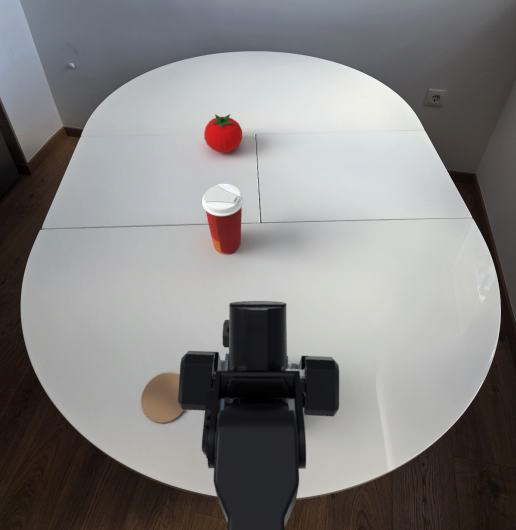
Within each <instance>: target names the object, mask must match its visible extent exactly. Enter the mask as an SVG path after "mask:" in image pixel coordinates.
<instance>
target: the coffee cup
mask: <svg viewBox="0 0 516 530" xmlns="http://www.w3.org/2000/svg"><path fill="white" fill-rule="evenodd" d="M201 202H202V207H203V209H204V210H205V215H206V220H207V223H208V228H209V233H210V236H211V237H210V238H211V242H212V245H213V248H214V250H215V251H216V252H217V253H219V254H221V255H232V254H234V253H235V252H237V251H238V250H239V249H240V247H241V242H242V241H241V239H242V217H243V215H242V214H243V213H242V207H243V205H244V196H243V194H242V193H241V191H240V190H239V189H238V188H237V187H236V186H235V185H233V184H229V183H219V184H215V185H213V186H211V187H209V188H208V189H207V190H206V191H205V193H204V195H203V196H202V199H201Z"/></svg>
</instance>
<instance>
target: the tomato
mask: <svg viewBox="0 0 516 530" xmlns="http://www.w3.org/2000/svg"><path fill="white" fill-rule="evenodd" d="M214 116H215V117H214V118H211V120H209V121H208V123H207V124H206V126H205V128H204V131H203V133H204V134H203V137H204V140H205V143H206V145H207V146H208V147H209V148H210V149H211V150H212V151H215V152H217V153H223V154H224V153H230V152H232V151H234V150H235V149H237V148H238V147H239V146H240V145H241V142H242V140H243V129H242V127H241V125H240V123H239V122H238V121H236V120H235V119H234V118H232V117H230V116H231V114H227V115H225V116H220V115H218V114H214Z"/></svg>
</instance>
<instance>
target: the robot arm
mask: <svg viewBox="0 0 516 530" xmlns="http://www.w3.org/2000/svg"><path fill="white" fill-rule="evenodd" d="M228 309H229V310H228V319H225V320H224V321H223V323H222V346H223V347H224V348H228V354H229V369H230V370H231V371H227V369H228V360H225V359H222V360H221V356H220V352H219V351H209V350H208V351H205V350H204V351H203V350H188V351H187V352H185V354H183V356H181V359H180V363H179V375H180V377H179V392H178V403H179V405H180V406H181V408H182V409H183V410H185V411H202V412H203V411H204V417H203V427H202V436H201V452H202V453H203V454H204V456H205V458H206V459H207V460H206V461H207V468H208V469H213V485H214V489H215V494H216V498H217V501H218V502H217V503H218V504H219V506H220V510H221V511H222V515H223V516H224V519H225V521H226V523H227V529H226V530H286V528H285V527H286V525H287V523H288V520H289V518H290V516H291V515H292V511H293V509H294V507H295V504H296V502H297V499H298V491H299V487H300V486H299V485H300V469H301V470H302V469H303V470H306V469H307V440H306V438H307V437H306V427H305V417H304V416H317V417H335V415H336V414H337V413H338V412H339V409H340V367H339V366H340V365H339V363H338V362H337V361H336V360H335V359H334V357H332V356H322V355H321V356H318V355H301V356H300V360H299V363H295V362H291V365H290V366H291V368H288V369H287V356H288V339H287V338H288V333H287V332H288V329H287V326H288V325H287V323H288V321H287V319H288V318H287V303H286V302H283V301H275V300H244V301H243V300H242V301H233V302H230V303H229V308H228ZM221 399H231V400H230V403H226V405H225V410H220V408H221ZM286 399H288V400H293V402H294V403H293V405H294V410H293V409H290V405H289V402H288V403H286Z"/></svg>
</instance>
